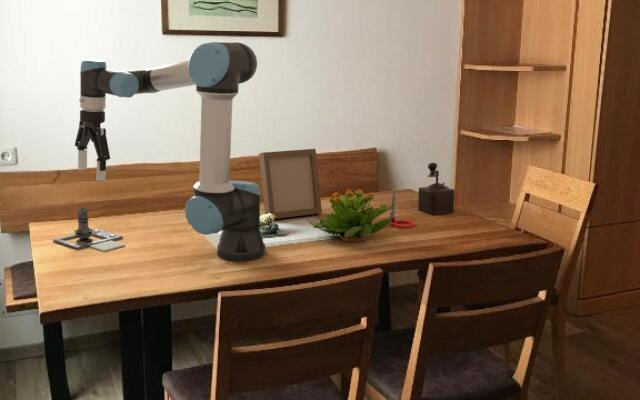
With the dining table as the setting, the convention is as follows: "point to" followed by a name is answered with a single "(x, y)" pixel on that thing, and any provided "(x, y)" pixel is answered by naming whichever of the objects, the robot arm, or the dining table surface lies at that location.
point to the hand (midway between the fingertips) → (91, 174)
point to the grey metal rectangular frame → (98, 233)
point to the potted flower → (353, 217)
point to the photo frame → (290, 183)
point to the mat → (107, 245)
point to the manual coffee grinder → (436, 196)
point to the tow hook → (394, 221)
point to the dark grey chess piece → (83, 227)
